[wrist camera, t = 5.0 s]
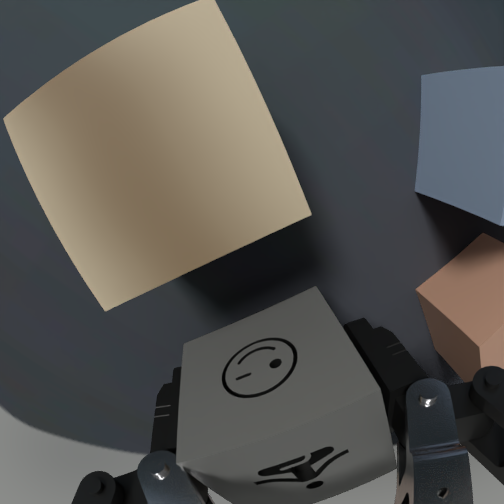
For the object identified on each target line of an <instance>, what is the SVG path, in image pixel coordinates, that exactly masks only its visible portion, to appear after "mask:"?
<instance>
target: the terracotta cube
mask: <svg viewBox="0 0 504 504" xmlns="http://www.w3.org/2000/svg"><path fill="white" fill-rule="evenodd" d="M415 290H416V292H417V295H418V298H419V301H420V304H421V307H422V310H423V313H424V316H425V319H426V322H427V325H428V328H429V331H430V335H431V338H432V341H433V345H434V348H435V350H436V351H437V352H438V353H439V354H440V355H441V356H442V357H443V359H444V360H445V361H446V362H447V363H448V364H449V365H450V366H451V367H452V369H453V370H454V371H455V372H456V373H457V374H458V375H459V376H460V378H461V379H462V380H463V381H464V382H470V381H472V380H473V377H474V375H475V373H476V372H477V371H478V370H479V369H481V368H483V367H486V366H497V367H500V368H502V369H504V243H502V242H501V241H499V240H497V239H495V238H493V237H491V236H489V235H487V234H485V233H482V234H481V235H480V236H478V237H477V238H476V239H475V240H474V241H473V242H472V243H471V244H470V245H468V246H467V247H466V248H465V249H464V250H463V251H462V252H460V253H459V254H458V255H457V256H456V257H455V258H453V259H452V260H451V261H450V262H449V263H448V264H446V265H445V266H444V267H443V268H442V269H440V270H439V271H438V272H437V273H435V274H434V275H433V276H432V277H431V278H429V279H428V280H427V281H425V282H424V283H423V284H422V285H420V286H419V287H418V288H417V289H415Z"/></svg>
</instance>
